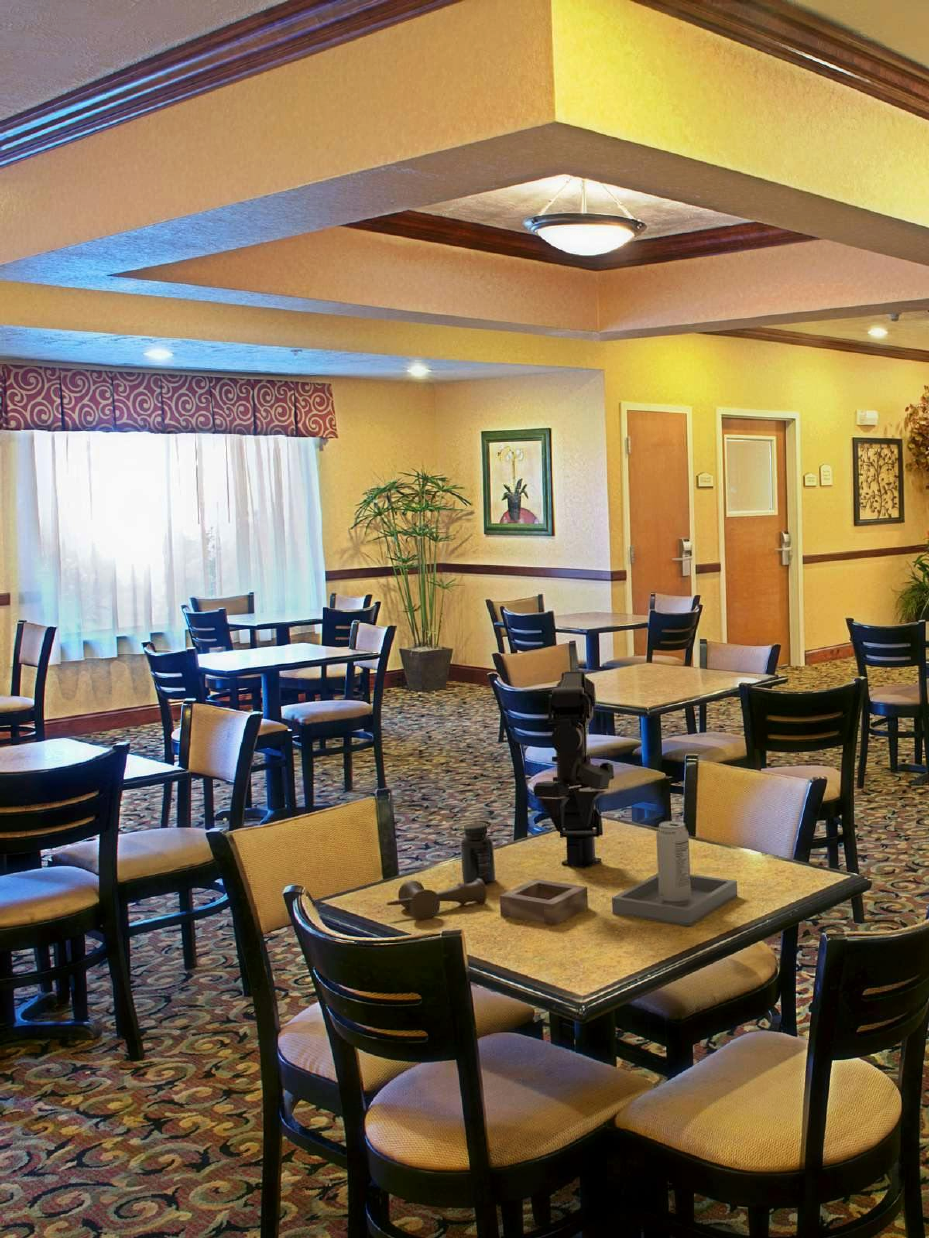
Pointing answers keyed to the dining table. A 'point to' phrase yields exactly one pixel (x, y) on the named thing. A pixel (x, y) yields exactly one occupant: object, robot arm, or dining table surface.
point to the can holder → (544, 901)
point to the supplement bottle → (477, 854)
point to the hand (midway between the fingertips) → (573, 828)
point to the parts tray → (649, 906)
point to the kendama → (437, 897)
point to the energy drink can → (673, 863)
